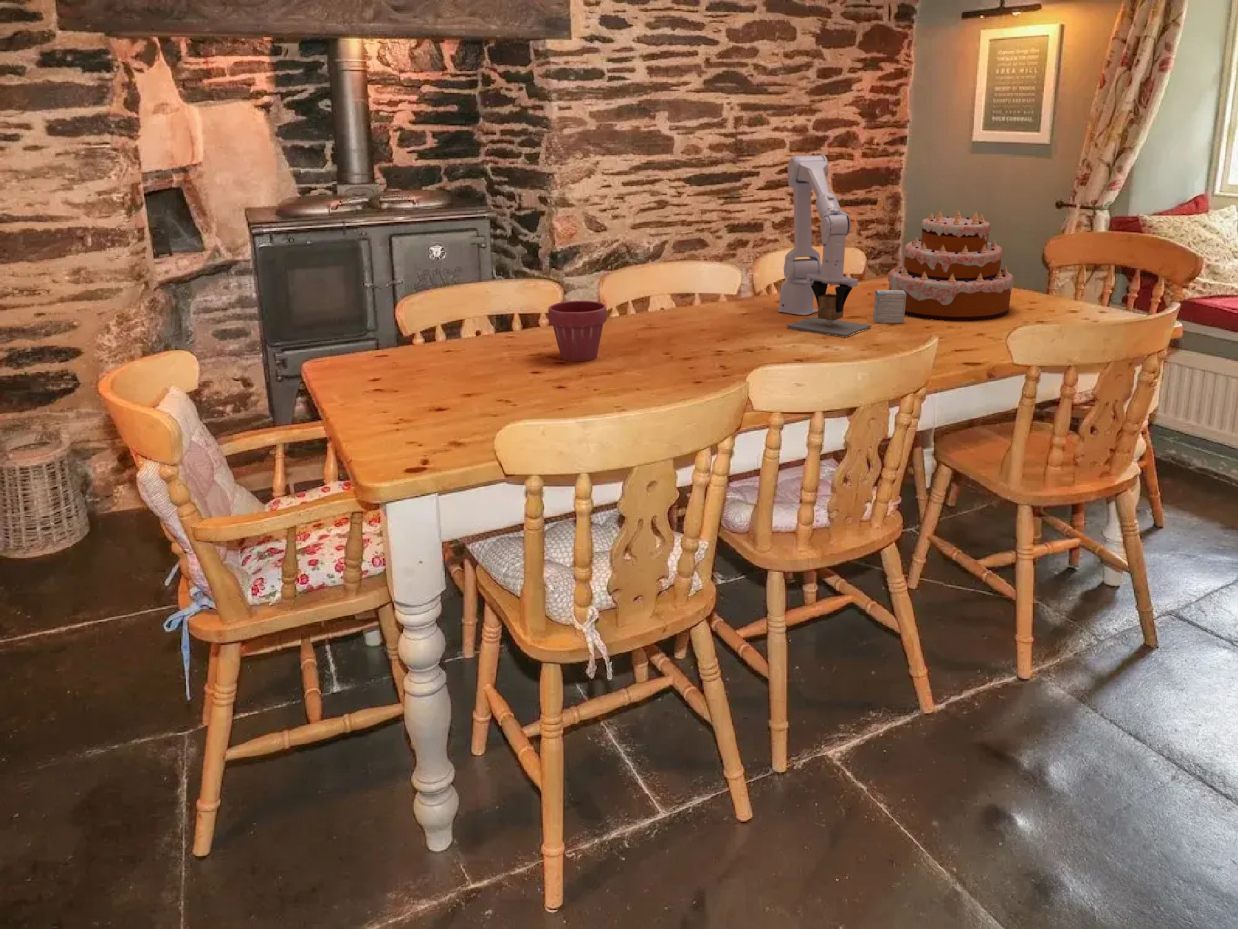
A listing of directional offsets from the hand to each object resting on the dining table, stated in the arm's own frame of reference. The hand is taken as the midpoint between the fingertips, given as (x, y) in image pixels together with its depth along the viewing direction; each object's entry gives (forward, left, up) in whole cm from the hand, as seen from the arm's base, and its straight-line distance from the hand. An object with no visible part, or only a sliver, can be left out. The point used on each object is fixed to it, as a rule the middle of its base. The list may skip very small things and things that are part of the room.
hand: (830, 310), depth 274 cm
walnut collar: (0, 0, -2) cm, 2 cm away
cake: (+14, +43, -5) cm, 46 cm away
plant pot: (-33, -65, -5) cm, 73 cm away
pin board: (0, 0, -5) cm, 5 cm away
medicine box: (+9, +17, -5) cm, 20 cm away
